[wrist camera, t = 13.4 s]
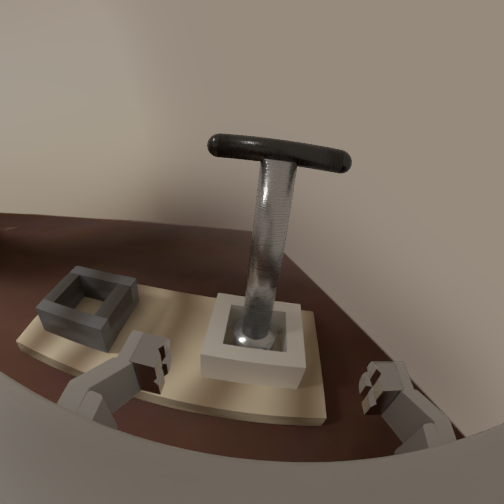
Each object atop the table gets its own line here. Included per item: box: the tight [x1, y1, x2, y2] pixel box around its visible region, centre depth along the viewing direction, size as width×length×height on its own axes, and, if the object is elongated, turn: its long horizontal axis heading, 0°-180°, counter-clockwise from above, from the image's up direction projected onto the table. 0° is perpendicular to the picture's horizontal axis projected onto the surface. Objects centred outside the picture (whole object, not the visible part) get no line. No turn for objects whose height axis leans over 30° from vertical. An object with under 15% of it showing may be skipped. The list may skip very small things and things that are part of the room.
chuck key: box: [207, 134, 352, 351], centre depth 21 cm, size 10×4×18 cm, turn 86°
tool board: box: [16, 266, 327, 426], centre depth 25 cm, size 30×14×4 cm, turn 86°
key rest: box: [200, 293, 306, 389], centre depth 25 cm, size 8×8×3 cm
